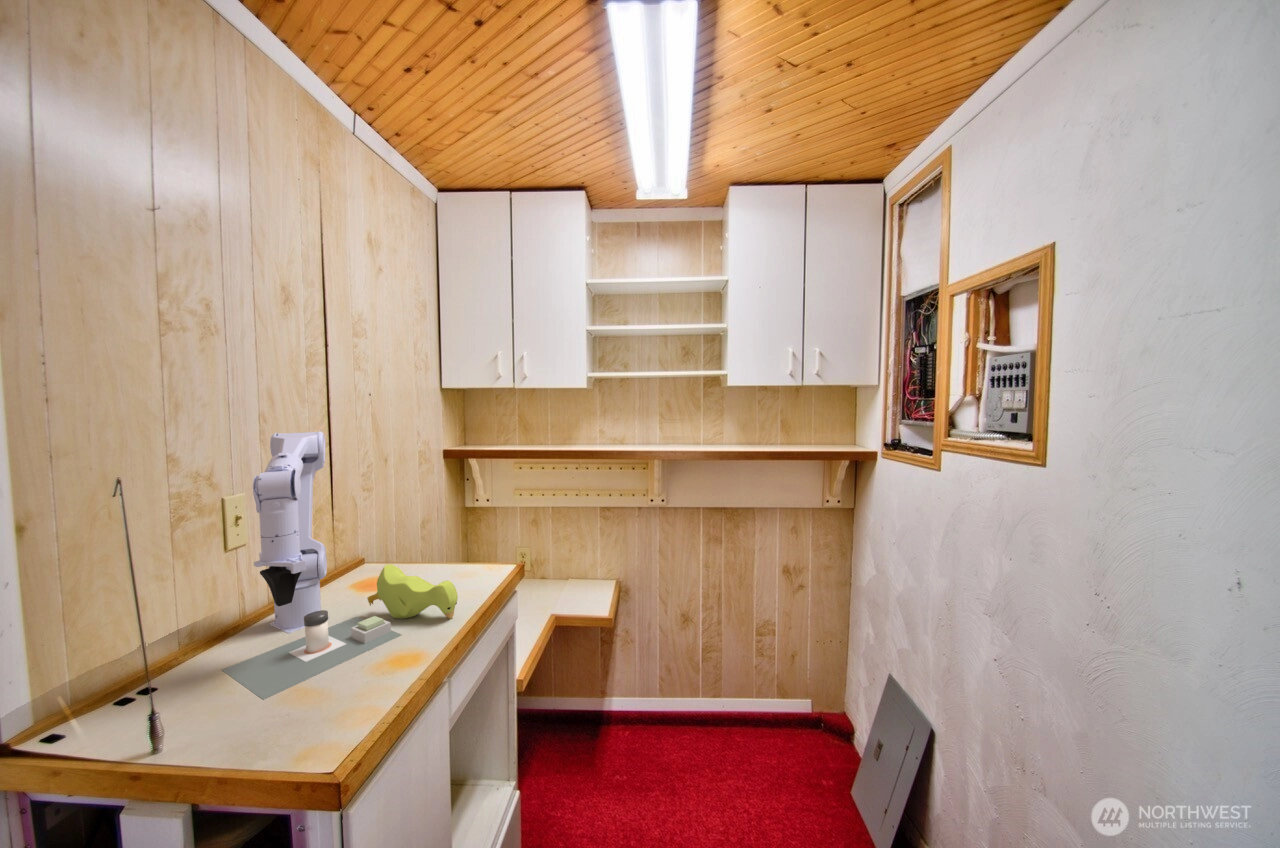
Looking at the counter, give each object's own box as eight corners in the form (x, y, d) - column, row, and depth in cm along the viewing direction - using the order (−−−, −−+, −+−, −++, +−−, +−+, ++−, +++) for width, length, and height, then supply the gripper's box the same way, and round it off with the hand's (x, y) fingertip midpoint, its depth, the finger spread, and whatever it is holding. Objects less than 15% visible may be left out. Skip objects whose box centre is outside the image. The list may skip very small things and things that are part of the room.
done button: (358, 634, 90) (357, 622, 90) (375, 627, 93) (374, 615, 93) (367, 638, 88) (366, 626, 88) (384, 630, 91) (383, 619, 91)
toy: (379, 647, 98) (452, 621, 94) (354, 578, 99) (425, 549, 95) (400, 633, 104) (469, 608, 100) (376, 568, 105) (444, 541, 101)
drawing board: (221, 672, 79) (220, 658, 79) (356, 618, 99) (355, 607, 99) (263, 702, 70) (262, 687, 70) (402, 637, 90) (401, 625, 90)
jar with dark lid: (301, 650, 85) (300, 616, 85) (324, 641, 88) (322, 608, 88) (310, 655, 83) (309, 620, 83) (333, 645, 86) (331, 612, 86)
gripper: (238, 534, 83) (241, 604, 84) (270, 544, 76) (274, 620, 76) (282, 525, 89) (286, 591, 90) (316, 533, 82) (320, 604, 82)
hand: (284, 603), depth 83 cm, fingers closed
